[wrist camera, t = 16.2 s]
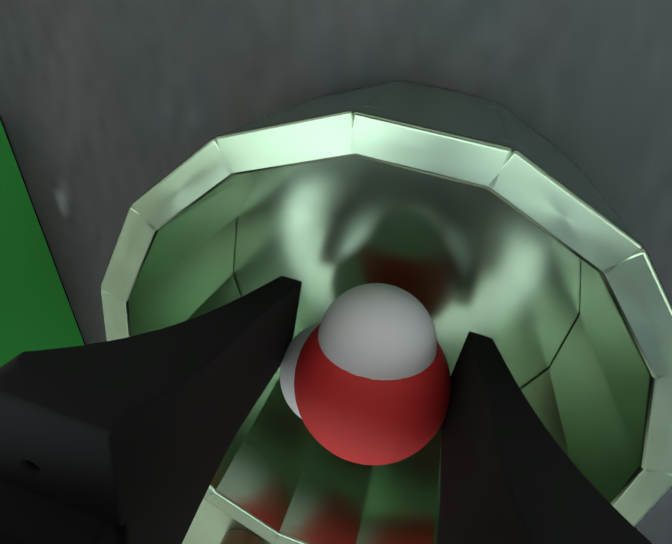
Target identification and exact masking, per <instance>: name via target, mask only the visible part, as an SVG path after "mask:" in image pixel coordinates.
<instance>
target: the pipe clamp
mask: <svg viewBox="0 0 672 544" xmlns="http://www.w3.org/2000/svg"><path fill="white" fill-rule="evenodd" d="M81 345H84V342H83V340H82V337H81V334H80V332H79V329H78V326H77V324H76V321H75V318H74V315H73V313H72V310H71V307H70V305H69V302H68V299H67V297H66V294H65V291H64V289H63V286H62V283H61V281H60V278H59V275H58V273H57V270H56V267H55V265H54V262H53V259H52V257H51V254H50V251H49V249H48V246H47V243H46V241H45V238H44V235H43V233H42V230H41V227H40V225H39V222H38V219H37V217H36V214H35V211H34V209H33V206H32V203H31V201H30V198H29V195H28V192H27V190H26V187H25V184H24V182H23V179H22V176H21V174H20V171H19V168H18V166H17V163H16V160H15V158H14V155H13V152H12V150H11V147H10V144H9V142H8V139H7V136H6V134H5V131H4V128H3V126H2V123H1V120H0V367H2V366H3V365H4V364H6V363H7V362H9V361H10V360H12V359H13V358H14V357H16V356H17V355H19V354H20V353H22V352H24V351H37V350H46V349H56V348H65V347H74V346H81Z"/></svg>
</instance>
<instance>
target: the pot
mask: <svg viewBox="0 0 672 544" xmlns="http://www.w3.org/2000/svg"><path fill="white" fill-rule="evenodd" d="M280 276H285V277H289V278H292V279H295V280H299V281H302V286H301V292H300V298H299V305H298V311H297V317H296V323H295V330H294V336H293V339H294V338H295V337H296V336H297V335H298V334H299V333H300V332H301V331H303V330H304V329H306V328H308V327H309V326H312V325H314V324H317V323H321V321H322V319H323V316H324V314H325V312H326V311H327V309H328V308H329V306H330V305H331V304H332V303H333V302H334V301H335V300H336V299H337V298H338V297H339V296H340V295H342V294H343V293H344V292H346V291H348V290H349V289H352V288H354V287H356V286H360V285H364V284H369V283H384V284H389V285H393V286H396V287H399V288H401V289H403V290H405V291H407V292H409V293H410V294H412V295H413V296H414V297H415V298H417V299H418V300H419V301H420V302H421V303H422V304H423V306H424V307H425V309H426V310H427V311H428V313H429V315H430V317H431V318H432V321H433V324H434V327H435V331H436V336H437V341H438V343H439V344H440V346H441V348H442V350H443V352H444V354H445V357H446V360H447V363H448V367H449V370H450V376H451V374H452V371H453V369H454V366H455V364H456V362H457V359H458V357H459V354H460V352H461V350H462V347H463V345H464V342H465V340H466V338H467V335H468V333H469V331H470V332H473V333H477V334H480V335H483V336H487V337H490V338H492V339H493V341H494V342H495V344H496V346H497V348H498V350H499V352H500V353H501V355H502V357H503V359H504V361H505V363H506V365H507V366H508V368H509V370H510V372H511V374H512V376H513V377H514V379H515V381H516V383H517V384H518V386H519V388H520V389H521V391H522V393H523V394H524V396H525V397H526V399H527V401H528V402H529V404H530V405H531V407H532V408H533V410H534V411H535V413H536V414H537V416H538V417H539V419H540V420H541V422H542V423H543V424H544V426H545V427H546V429H547V430H548V431H549V433H550V434H551V435H552V437H553V438H554V440H555V441H556V442H557V443H558V445H559V446H560V447H561V448H562V449H563V451H564V452H565V453H566V454H567V456H568V457H569V458H570V459H571V461H572V462H573V463H574V464H575V465H576V467H577V468H578V469H579V470H580V471H581V472H582V474H583V475H584V476H585V477H586V478H587V479H588V480H589V481H590V482H591V483H592V484H593V486H594V487H595V488H596V489H597V490H598V491H599V492H600V493H601V494H602V495H603V496H604V497H605V498H606V500H607V501H608V502H609V503H610V504H611V505H612V506H613V507H614V508H615V509H616V510H617V511H618V512H619V513H620V514H621V515H622V516H623V517H624V518H625V519H626V520H628V521H629V522H630V523H631V524H632V525H633V526H634V527H635V526H636V525H637V524H638V523H639V522H640V521H641V520H642V519H643V518H644V517H645V515H646V514H647V513H648V512H649V511H650V510H651V509H652V508H653V507H654V506H655V505H656V504H657V503H658V501H659V500H660V499H661V498H662V497H663V496H664V495H665V494H666V493H667V492H668V491H669V490H670V488H671V487H672V305H671V303H670V300H669V298H668V296H667V294H666V292H665V289H664V287H663V285H662V283H661V281H660V279H659V276H658V274H657V272H656V270H655V268H654V265H653V263H652V261H651V259H650V257H649V255H648V252H647V250H646V249H645V248H644V247H643V245H642V244H641V243H640V242H639V240H638V239H637V238H636V237H635V235H634V234H633V233H632V232H631V231H630V229H629V228H628V227H627V226H626V225H625V223H624V222H623V221H622V220H621V219H620V217H619V216H618V215H617V214H616V213H615V211H614V210H613V209H612V208H611V207H610V205H609V204H608V203H607V202H606V200H605V199H604V198H603V197H602V196H601V194H600V193H599V192H598V191H597V190H596V188H595V187H594V186H593V185H592V184H591V182H590V181H589V180H588V179H587V178H586V176H585V175H584V174H583V173H582V172H581V170H580V169H579V168H578V167H577V165H576V164H575V163H574V162H573V161H572V159H571V158H569V157H568V156H567V155H565V154H564V153H563V152H561V151H560V150H559V149H557V148H556V147H555V146H554V145H552V144H551V143H550V142H548V141H547V140H546V139H544V138H543V137H542V136H541V135H540V134H539V133H538V132H536V131H535V130H534V129H533V128H532V127H530V126H529V125H527V124H526V123H524V122H522V121H521V120H520V119H518V118H517V117H516V116H514V115H513V114H512V113H510V112H509V111H508V110H507V109H505V108H504V107H503V106H501V105H500V104H499V103H495V102H494V101H491V100H487V99H482V98H478V97H473V96H470V95H466V94H463V93H460V92H456V91H453V90H450V89H444V88H438V87H431V86H424V85H419V84H415V83H410V82H406V81H401V82H400V81H394V82H389V83H384V84H379V85H375V86H370V87H364V88H357V89H353V90H350V91H346V92H342V93H337V94H332V95H327V96H323V97H318V98H313V99H311V100H308V101H305V102H303V103H300V104H298V105H295V106H293V107H290V108H288V109H285V110H282V111H280V112H277V113H275V114H272V115H270V116H267V117H265V118H262V119H259V120H257V121H254V122H252V123H249V124H247V125H244V126H241V127H239V128H236V129H234V130H231V131H229V132H226V133H224V134H221V135H218V136H217V137H214V138H212V139H211V140H210V141H209V142H207V143H206V144H205V145H204V146H202V147H201V148H200V149H199V150H197V151H196V152H195V153H194V154H193V155H191V156H190V157H189V158H188V159H186V160H185V161H184V162H183V163H181V164H180V165H179V166H178V167H177V168H175V169H174V170H173V171H172V172H170V173H169V174H168V175H167V176H165V177H164V178H163V179H162V180H161V181H159V182H158V183H157V184H156V185H154V186H153V187H152V188H151V189H150V190H148V191H147V192H146V193H145V194H143V195H142V196H141V197H140V198H138V199H137V200H136V201H135V202H134V203H133V204H132V206H131V207H130V209H129V211H128V214H127V217H126V219H125V222H124V225H123V227H122V230H121V233H120V235H119V238H118V241H117V244H116V246H115V249H114V252H113V254H112V257H111V260H110V262H109V265H108V268H107V270H106V273H105V276H104V279H103V281H102V284H101V290H100V291H101V299H102V308H103V316H104V325H105V333H106V341H111V340H116V339H122V338H126V337H131V336H135V335H138V334H142V333H146V332H150V331H154V330H158V329H162V328H165V327H169V326H172V325H175V324H178V323H181V322H184V321H187V320H190V319H192V318H195V317H198V316H200V315H203V314H205V313H207V312H210V311H212V310H214V309H216V308H219V307H221V306H223V305H225V304H228V303H230V302H232V301H234V300H236V299H238V298H240V297H242V296H244V295H246V294H248V293H250V292H252V291H254V290H255V289H257V288H259V287H261V286H263V285H265V284H267V283H269V282H270V281H272V280H274V279H276V278H278V277H280ZM293 339H292V340H293ZM280 366H281V365H280ZM440 472H441V426H440V428H439V429H438V431H437V432H436V434H435V435H434V437H433V438H432V439H431V440H430V441H429V442H428V443H427V444H426V445H425V446H424V447H423V448H421V449H420V450H419V451H418V452H416V453H414V454H413V455H411V456H409V457H407V458H405V459H403V460H400V461H398V462H394V463H390V464H386V465H362V464H357V463H353V462H350V461H347V460H345V459H342V458H340V457H338V456H336V455H334V454H333V453H331V452H330V451H329V450H327V449H326V448H324V447H323V446H322V445H321V444H320V443H319V442H318V441H317V440H316V439H315V438H314V437H313V435H312V434H311V433H310V432H309V430H308V429H307V427H306V425H305V424H304V422H303V420H302V419H301V418H300V417H298V416H297V415H296V414H295V413H294V412H293V410H292V409H291V408H290V407H289V405H288V404H287V402H286V400H285V398H284V395H283V393H282V389H281V385H280V367H279V368H278V370H277V371H276V373H275V375H274V376H273V378H272V379H271V381H270V382H269V384H268V385H267V387H266V389H265V390H264V392H263V393H262V395H261V396H260V398H259V399H258V401H257V402H256V404H255V405H254V407H253V408H252V410H251V412H250V413H249V415H248V416H247V418H246V419H245V421H244V422H243V424H242V425H241V427H240V429H239V430H238V432H237V434H236V435H235V437H234V439H233V441H232V443H231V445H230V446H229V448H228V450H227V452H226V454H225V456H224V458H223V460H222V462H221V464H220V466H219V468H218V470H217V472H216V474H215V476H214V478H213V480H212V482H211V484H210V486H209V488H208V490H207V492H206V494H205V496H204V499H205V500H206V501H207V502H209V503H210V504H212V505H213V506H215V507H217V508H218V509H220V510H221V511H223V512H224V513H226V514H227V515H229V516H230V517H232V518H233V519H235V520H236V521H238V522H239V523H241V524H242V525H244V526H245V527H247V528H248V529H250V530H251V531H253V532H254V533H256V534H257V535H259V536H260V537H262V538H263V539H265V540H267V541H268V542H270V543H273V544H436V538H437V529H438V521H439V509H440Z"/></svg>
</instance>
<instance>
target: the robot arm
mask: <svg viewBox="0 0 672 544" xmlns="http://www.w3.org/2000/svg"><path fill="white" fill-rule="evenodd" d="M301 286H302V281H299V280H295V279H292V278H289V277H285V276H280V277H278V278H276V279H274V280H272V281H270V282H269V283H267V284H265V285H263V286H261V287H259V288H257V289H255V290H254V291H252V292H250V293H248V294H246V295H244V296H242V297H240V298H238V299H236V300H234V301H232V302H230V303H228V304H225V305H223V306H221V307H219V308H216V309H214V310H212V311H210V312H207V313H205V314H203V315H200V316H198V317H195V318H192V319H190V320H187V321H184V322H181V323H178V324H175V325H172V326H169V327H165V328H162V329H158V330H154V331H150V332H146V333H142V334H138V335H135V336H131V337H126V338H122V339H116V340H111V341H106V342H100V343H94V344H88V345H81V346H74V347H65V348H56V349H46V350H37V351H24V352H22V353H20V354H19V355H17V356H16V357H14V358H13V359H12V360H10V361H9V362H7V363H6V364H4V365H3V366H2V367H0V544H182V542H183V540H184V538H185V536H186V534H187V532H188V530H189V528H190V525H191V523H192V521H193V519H194V517H195V515H196V513H197V511H198V509H199V506H200V504H201V502H202V500H203V498H204V496H205V494H206V492H207V490H208V488H209V486H210V484H211V482H212V480H213V478H214V476H215V474H216V472H217V470H218V468H219V466H220V464H221V462H222V460H223V458H224V456H225V454H226V452H227V450H228V448H229V446H230V445H231V443H232V441H233V439H234V437H235V435H236V434H237V432H238V430H239V429H240V427H241V425H242V424H243V422H244V421H245V419H246V418H247V416H248V415H249V413H250V412H251V410H252V408H253V407H254V405H255V404H256V402H257V401H258V399H259V398H260V396H261V395H262V393H263V392H264V390H265V389H266V387H267V385H268V384H269V382H270V381H271V379H272V378H273V376H274V375H275V373H276V371H277V370H278V368H279V367H280V365H281V363H282V361H283V358H284V355H285V353H286V350H287V348H288V346H289V344H290V343H291V341H292V339H293V336H294V330H295V323H296V317H297V311H298V305H299V298H300V292H301ZM450 379H451V393H450V400H449V405H448V409H447V412H446V416H445V418H444V420H443V422H442V424H441V472H440V509H439V521H438V529H437V538H436V544H652V543H651V542H650V541H649V540H648V539H647V538H646V537H645V536H643V535H642V534H641V533H640V532H639V531H638V530H637V529H636V528H635V527H634V526H633V525H632V524H631V523H630V522H629V521H628V520H626V519H625V518H624V517H623V516H622V515H621V514H620V513H619V512H618V511H617V510H616V509H615V508H614V507H613V506H612V505H611V504H610V503H609V502H608V501H607V500H606V498H605V497H604V496H603V495H602V494H601V493H600V492H599V491H598V490H597V489H596V488H595V487H594V486H593V484H592V483H591V482H590V481H589V480H588V479H587V478H586V477H585V476H584V475H583V474H582V472H581V471H580V470H579V469H578V468H577V467H576V465H575V464H574V463H573V462H572V461H571V459H570V458H569V457H568V456H567V454H566V453H565V452H564V451H563V449H562V448H561V447H560V446H559V445H558V443H557V442H556V441H555V440H554V438H553V437H552V435H551V434H550V433H549V431H548V430H547V429H546V427H545V426H544V424H543V423H542V422H541V420H540V419H539V417H538V416H537V414H536V413H535V411H534V410H533V408H532V407H531V405H530V404H529V402H528V401H527V399H526V397H525V396H524V394H523V393H522V391H521V389H520V388H519V386H518V384H517V383H516V381H515V379H514V377H513V376H512V374H511V372H510V370H509V368H508V366H507V365H506V363H505V361H504V359H503V357H502V355H501V353H500V352H499V350H498V348H497V346H496V344H495V342H494V341H493V339H492V338H490V337H487V336H483V335H480V334H477V333H473V332H470V331H469V333H468V335H467V338H466V340H465V342H464V345H463V347H462V350H461V352H460V354H459V357H458V359H457V362H456V364H455V366H454V369H453V371H452V374H451V376H450Z"/></svg>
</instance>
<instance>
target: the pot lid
mask: <svg viewBox="0 0 672 544" xmlns="http://www.w3.org/2000/svg"><path fill="white" fill-rule="evenodd" d="M182 544H273V543H270V542H268V541H267V540H265V539H263V538H262V537H260V536H259V535H257V534H256V533H254V532H253V531H251V530H250V529H248V528H247V527H245V526H244V525H242V524H241V523H239V522H238V521H236V520H235V519H233V518H232V517H230V516H229V515H227V514H226V513H224V512H223V511H221V510H220V509H218V508H217V507H215V506H213V505H212V504H210V503H209V502H207V501H206V500H205V499H204V498H203V500H202V502H201V504H200V506H199V509H198V511H197V513H196V515H195V517H194V519H193V521H192V523H191V525H190V528H189V530H188V532H187V534H186V536H185V538H184V540H183V542H182Z"/></svg>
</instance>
